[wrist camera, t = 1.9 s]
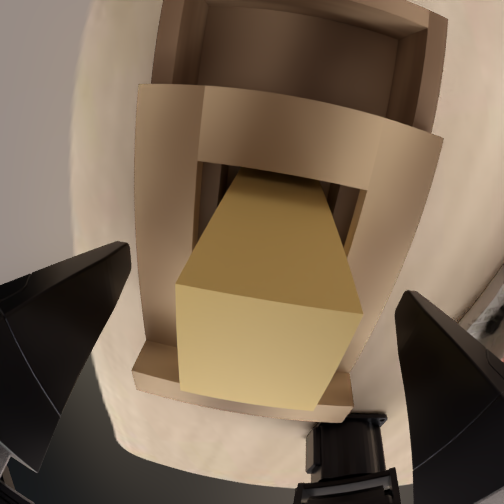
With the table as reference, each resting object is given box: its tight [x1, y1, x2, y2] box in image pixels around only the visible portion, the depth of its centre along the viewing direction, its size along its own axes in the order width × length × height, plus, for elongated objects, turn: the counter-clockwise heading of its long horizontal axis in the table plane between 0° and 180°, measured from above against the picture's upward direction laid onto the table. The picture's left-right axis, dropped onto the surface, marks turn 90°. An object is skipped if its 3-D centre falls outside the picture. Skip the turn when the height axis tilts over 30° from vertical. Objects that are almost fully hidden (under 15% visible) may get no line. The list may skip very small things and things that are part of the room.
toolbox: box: [151, 0, 448, 248], centre depth 13 cm, size 10×18×4 cm, turn 172°
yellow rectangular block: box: [175, 167, 363, 411], centre depth 10 cm, size 4×4×9 cm
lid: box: [132, 84, 444, 423], centre depth 11 cm, size 10×13×3 cm
